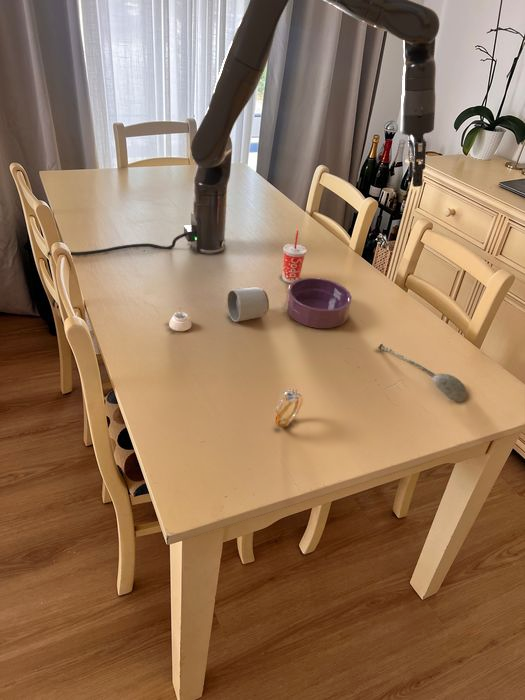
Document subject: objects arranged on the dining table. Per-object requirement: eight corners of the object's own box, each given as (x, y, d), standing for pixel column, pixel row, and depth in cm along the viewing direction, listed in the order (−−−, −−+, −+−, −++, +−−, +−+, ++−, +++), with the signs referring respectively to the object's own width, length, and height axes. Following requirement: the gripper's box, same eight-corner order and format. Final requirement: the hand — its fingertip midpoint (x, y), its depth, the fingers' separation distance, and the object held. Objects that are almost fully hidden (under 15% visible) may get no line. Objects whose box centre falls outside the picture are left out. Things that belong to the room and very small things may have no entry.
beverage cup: (278, 282, 139) (284, 234, 130) (281, 271, 143) (287, 224, 135) (300, 286, 138) (308, 237, 130) (302, 275, 143) (310, 228, 135)
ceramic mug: (269, 321, 123) (272, 293, 118) (238, 328, 119) (240, 299, 115) (249, 300, 130) (252, 272, 126) (220, 305, 127) (221, 277, 122)
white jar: (195, 326, 118) (180, 317, 121) (196, 315, 117) (180, 307, 119) (179, 335, 115) (164, 325, 118) (179, 324, 113) (164, 315, 116)
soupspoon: (455, 409, 105) (470, 397, 109) (462, 397, 103) (476, 385, 107) (370, 353, 116) (386, 344, 120) (374, 341, 114) (391, 332, 118)
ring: (292, 411, 99) (297, 380, 94) (304, 420, 97) (310, 389, 93) (266, 428, 95) (271, 396, 90) (279, 438, 93) (284, 406, 88)
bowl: (302, 334, 120) (306, 314, 117) (275, 300, 131) (278, 281, 128) (358, 324, 126) (363, 305, 122) (328, 292, 137) (331, 274, 133)
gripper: (398, 107, 125) (397, 175, 134) (404, 117, 114) (402, 190, 122) (430, 104, 124) (427, 172, 133) (439, 113, 112) (435, 188, 121)
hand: (415, 181), depth 127 cm, fingers open, 8 cm apart
